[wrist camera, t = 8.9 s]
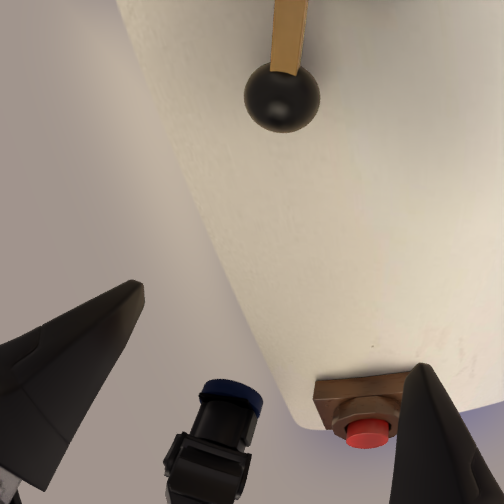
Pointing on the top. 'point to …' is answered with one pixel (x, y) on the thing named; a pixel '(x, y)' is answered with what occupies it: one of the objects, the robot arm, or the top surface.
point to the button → (367, 433)
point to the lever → (284, 76)
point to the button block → (359, 401)
